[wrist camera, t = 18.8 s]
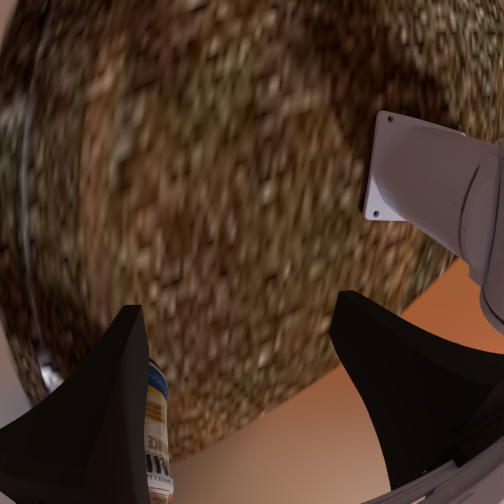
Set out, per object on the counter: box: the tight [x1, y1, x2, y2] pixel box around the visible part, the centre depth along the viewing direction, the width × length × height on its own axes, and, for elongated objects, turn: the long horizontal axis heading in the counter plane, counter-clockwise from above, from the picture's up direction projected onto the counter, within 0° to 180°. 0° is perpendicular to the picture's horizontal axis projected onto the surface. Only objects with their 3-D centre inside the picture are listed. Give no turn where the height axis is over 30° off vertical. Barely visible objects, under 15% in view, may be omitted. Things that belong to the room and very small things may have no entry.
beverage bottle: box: [144, 361, 173, 504], centre depth 16 cm, size 8×8×20 cm
